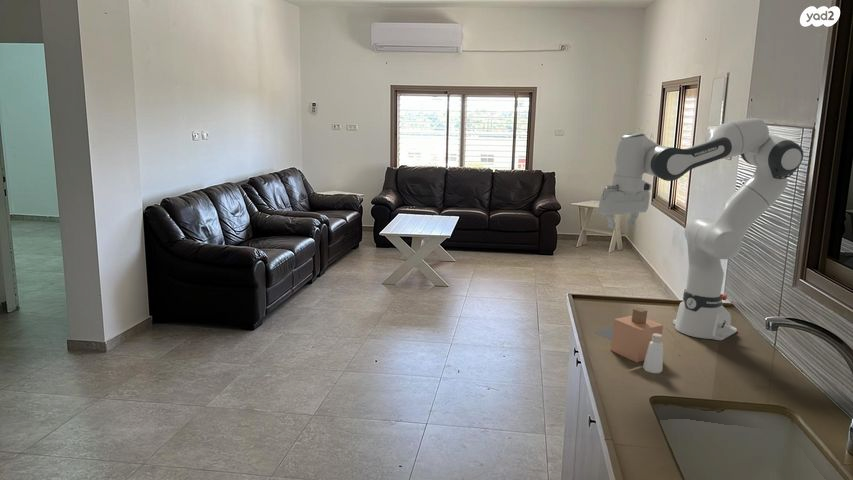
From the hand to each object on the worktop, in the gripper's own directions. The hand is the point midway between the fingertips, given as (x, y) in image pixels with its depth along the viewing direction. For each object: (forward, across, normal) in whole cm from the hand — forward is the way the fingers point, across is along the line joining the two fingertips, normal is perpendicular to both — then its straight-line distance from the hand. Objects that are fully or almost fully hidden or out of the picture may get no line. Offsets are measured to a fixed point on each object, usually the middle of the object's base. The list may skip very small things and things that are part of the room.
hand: (621, 226), depth 205 cm
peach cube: (+37, -6, -16) cm, 41 cm away
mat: (+37, +2, -3) cm, 37 cm away
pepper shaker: (+37, -10, -26) cm, 47 cm away
